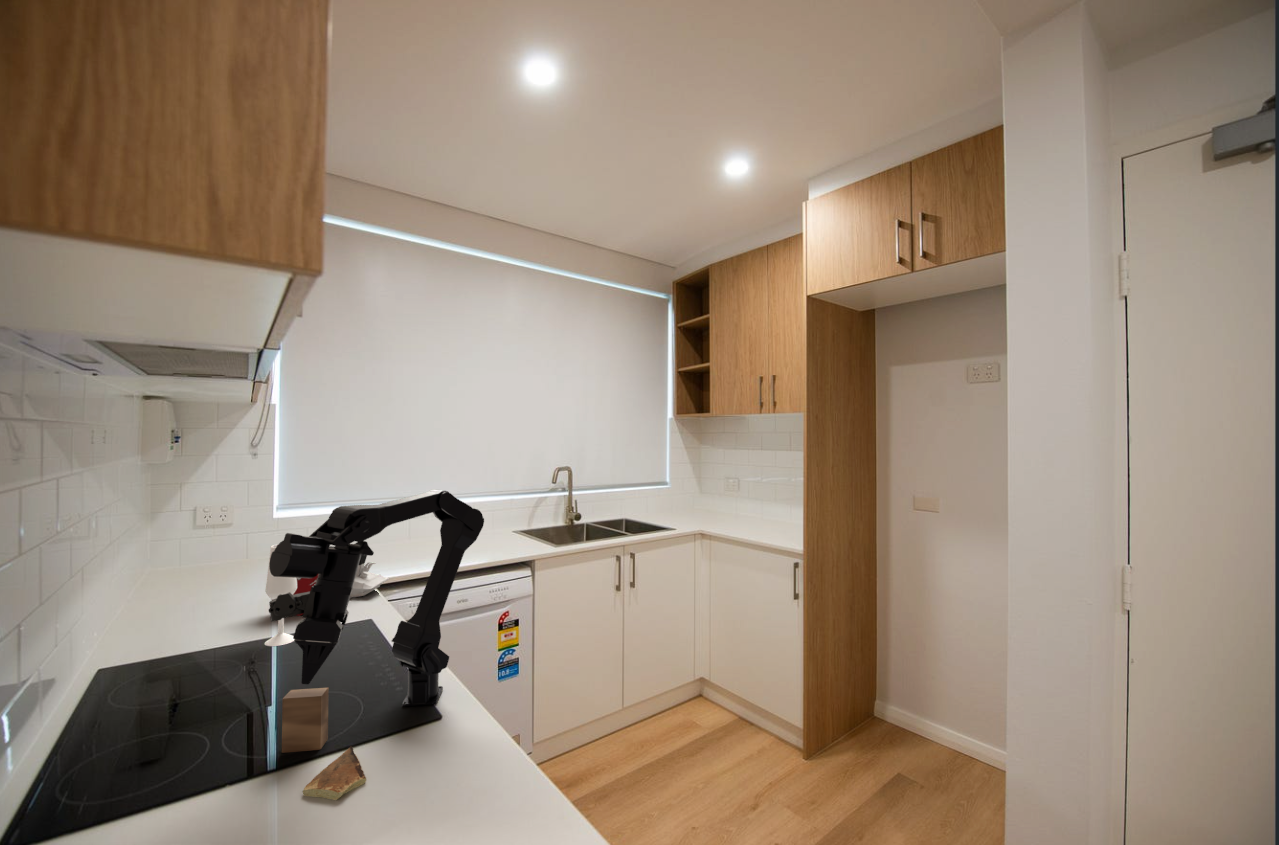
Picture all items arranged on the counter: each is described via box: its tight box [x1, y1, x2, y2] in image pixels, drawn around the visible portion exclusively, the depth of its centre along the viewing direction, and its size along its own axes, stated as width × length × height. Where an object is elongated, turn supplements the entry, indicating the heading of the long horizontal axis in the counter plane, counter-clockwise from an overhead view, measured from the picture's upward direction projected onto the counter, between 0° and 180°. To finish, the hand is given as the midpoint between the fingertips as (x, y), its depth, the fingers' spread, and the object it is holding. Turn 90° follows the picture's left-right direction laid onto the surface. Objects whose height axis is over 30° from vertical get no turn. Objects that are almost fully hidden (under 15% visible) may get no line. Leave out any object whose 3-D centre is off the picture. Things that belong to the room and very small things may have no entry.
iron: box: [329, 545, 390, 598], centre depth 174 cm, size 11×24×15 cm, turn 88°
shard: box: [302, 745, 367, 801], centre depth 84 cm, size 11×8×2 cm
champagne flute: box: [264, 543, 297, 647], centre depth 136 cm, size 7×7×24 cm
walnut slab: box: [281, 687, 330, 754], centre depth 92 cm, size 3×6×9 cm, turn 99°
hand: (309, 676), depth 89 cm, fingers open, 9 cm apart
